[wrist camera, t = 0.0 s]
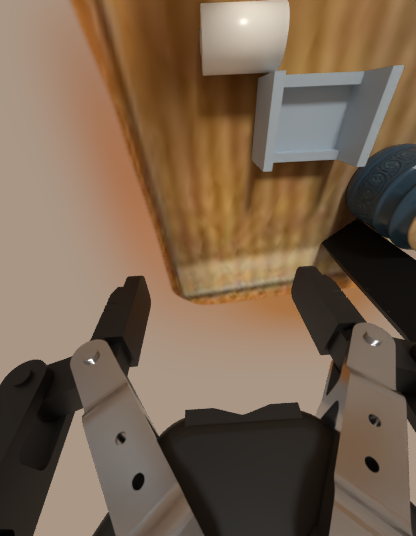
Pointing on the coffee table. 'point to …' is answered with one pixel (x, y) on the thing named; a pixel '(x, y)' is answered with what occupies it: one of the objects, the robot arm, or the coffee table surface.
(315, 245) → the coffee table surface
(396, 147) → the canister
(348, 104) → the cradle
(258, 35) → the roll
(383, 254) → the long black block
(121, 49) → the coffee table surface
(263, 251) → the coffee table surface
